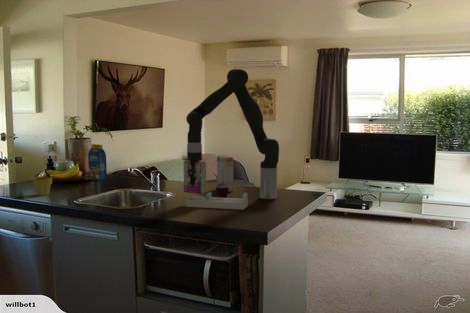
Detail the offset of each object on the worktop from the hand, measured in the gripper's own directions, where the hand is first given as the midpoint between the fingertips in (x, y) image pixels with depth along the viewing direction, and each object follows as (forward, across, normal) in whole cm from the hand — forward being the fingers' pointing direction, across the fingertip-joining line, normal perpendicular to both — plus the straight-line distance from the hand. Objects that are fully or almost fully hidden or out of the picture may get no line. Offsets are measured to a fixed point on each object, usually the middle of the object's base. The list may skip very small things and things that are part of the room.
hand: (194, 183), depth 231 cm
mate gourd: (+11, +19, -9) cm, 24 cm away
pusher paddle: (+10, 0, -11) cm, 15 cm away
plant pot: (+12, +7, +96) cm, 97 cm away
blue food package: (+12, +65, +95) cm, 116 cm away
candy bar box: (+5, 0, 0) cm, 5 cm away
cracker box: (+11, +45, -4) cm, 47 cm away
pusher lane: (+11, 0, -12) cm, 16 cm away
